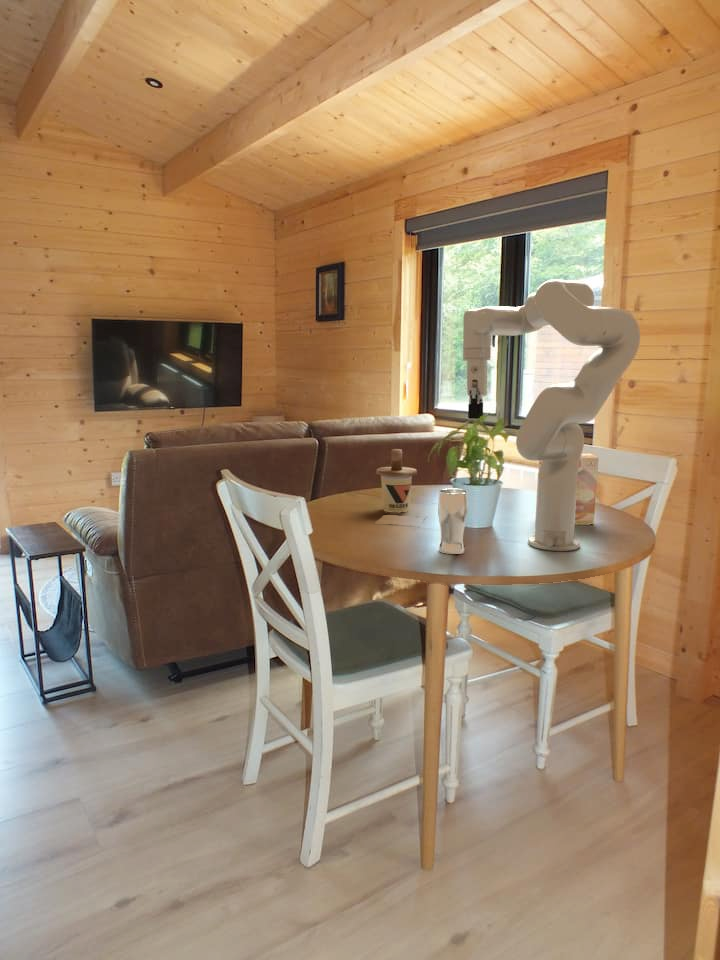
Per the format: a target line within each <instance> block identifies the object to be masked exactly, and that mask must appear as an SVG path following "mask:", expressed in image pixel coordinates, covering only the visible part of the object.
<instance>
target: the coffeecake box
mask: <svg viewBox="0 0 720 960" xmlns="http://www.w3.org/2000/svg"><path fill="white" fill-rule="evenodd" d="M542 461H543V460H540V461H538V470H539V469H540V466H541V463H542ZM598 469H599V456H597V455H594V454H592V453H582V454H581V458H580V462H579V469H578V481H577V495H576V511H575V526H586V525H587V526H591V525H590V524H595V510H596V498H597V486H598V485H597V484H598V483H597V482H598Z"/></svg>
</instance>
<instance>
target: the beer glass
mask: <svg viewBox="0 0 720 960" xmlns="http://www.w3.org/2000/svg"><path fill="white" fill-rule="evenodd" d="M437 502H438V504H437V512H438V513H437V514H438V516H437V517H438V522H439V523H438V524H439V529H440V543H439V547H438V552H439V551H440V552H442V553H441V554H443V553H446V554H445V555H448V554H459V555H462V554H464V553H465V547H464V531H465V526H466V522H467V515H468V490H466V489H461V488H454V487H453V488H441V489H440V490H439V493H438V501H437ZM440 552H439V553H440Z"/></svg>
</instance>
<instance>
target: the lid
mask: <svg viewBox="0 0 720 960" xmlns="http://www.w3.org/2000/svg"><path fill="white" fill-rule="evenodd" d="M390 460H391V461H390V462H391V463H390V466H382V467H378V468H376V474H377V475H379V476H381V475H383V476H392V477H404V476H412V477H413V476H415V475H417V469H416V468H414V467H408V466H403V449H400V448H394V449H391V458H390Z"/></svg>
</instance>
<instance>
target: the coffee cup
mask: <svg viewBox="0 0 720 960" xmlns="http://www.w3.org/2000/svg"><path fill="white" fill-rule="evenodd" d="M412 478H413V476H404V477H392V476H383V475H380V479H381V480H380V482H381V497H382V510H383V509H384V510H387V511H392V512H405V511H408V510H409V511H410V504H411V503H410V500H411V491H412V490H411V489H412ZM409 511H408V512H409Z"/></svg>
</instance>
